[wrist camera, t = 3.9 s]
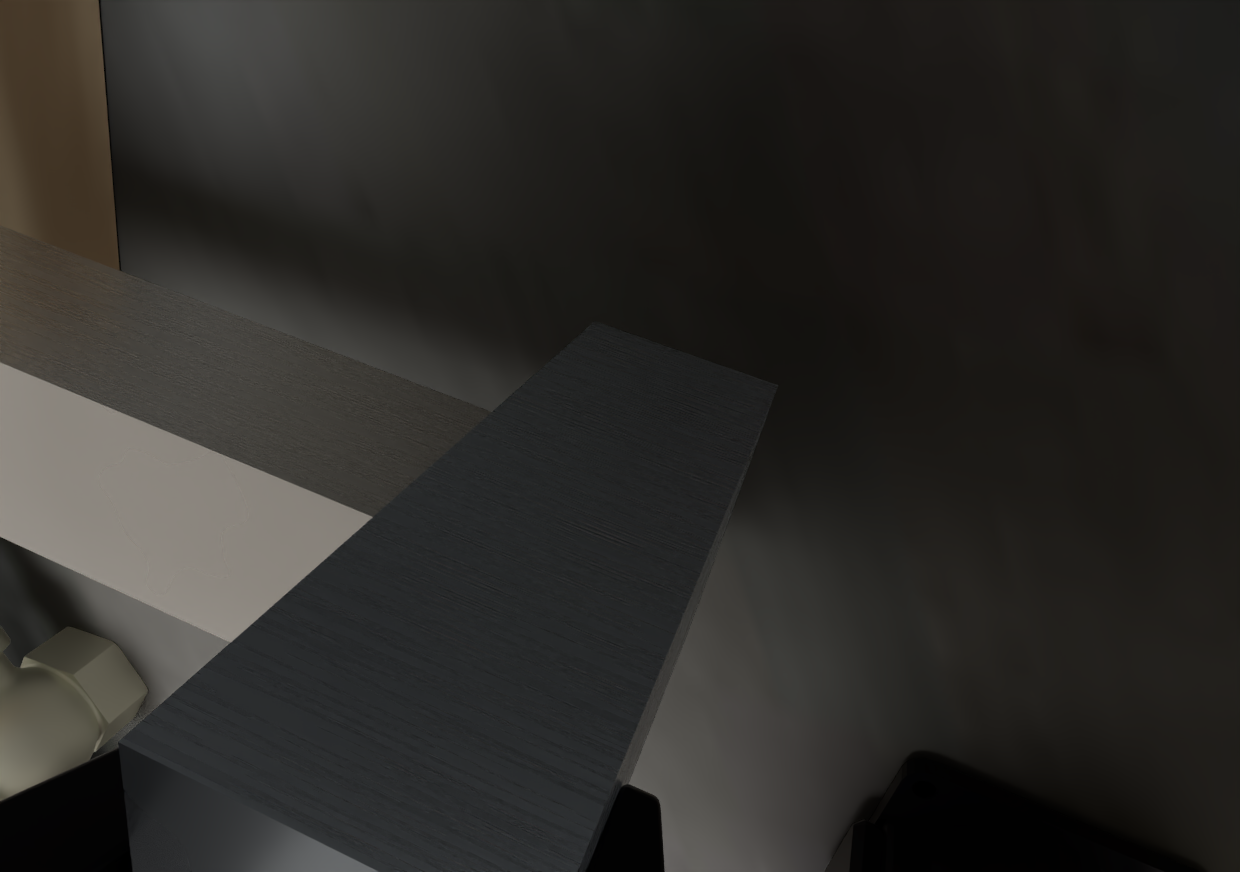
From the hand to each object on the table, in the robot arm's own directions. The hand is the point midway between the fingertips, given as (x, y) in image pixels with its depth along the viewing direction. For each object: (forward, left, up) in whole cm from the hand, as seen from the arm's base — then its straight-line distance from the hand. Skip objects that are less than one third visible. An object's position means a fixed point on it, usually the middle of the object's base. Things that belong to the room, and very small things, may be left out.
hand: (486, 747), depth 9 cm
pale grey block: (+7, 0, -6) cm, 9 cm away
